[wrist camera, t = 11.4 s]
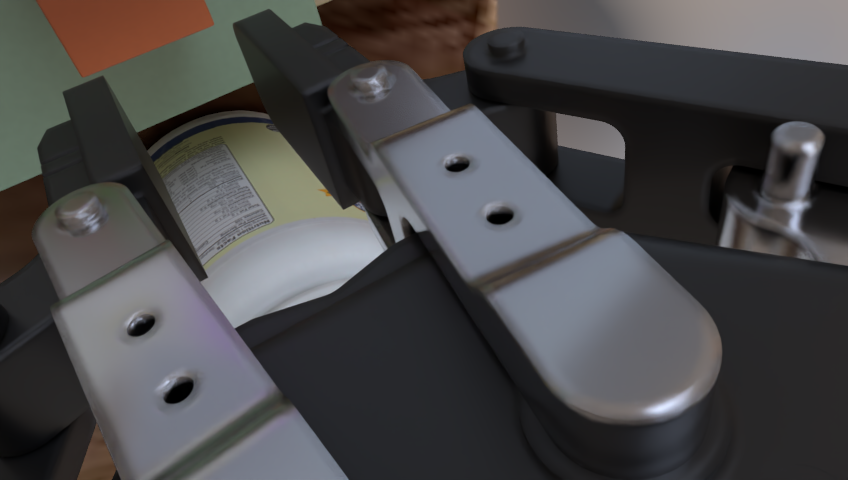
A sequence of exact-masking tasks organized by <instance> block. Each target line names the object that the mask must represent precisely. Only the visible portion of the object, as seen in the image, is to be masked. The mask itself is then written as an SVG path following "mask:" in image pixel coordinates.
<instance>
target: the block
mask: <svg viewBox="0 0 848 480" xmlns="http://www.w3.org/2000/svg"><path fill="white" fill-rule="evenodd" d="M36 2H37V4H38V5H39V7H40V9H41V10H42V12H43V14H44V15H45V17H46V19H47V20H48V22H49V24H50V25H51V27H52V29H53V30H54V32H55V34H56V35H57V37H58V39H59V40H60V42H61V44H62V45H63V47H64V49H65V50H66V52H67V54H68V55H69V57H70V59H71V60H72V62H73V64H74V65H75V67H76V69H77V70H78V72H79V74H80V75H81V77H87V76H89V75H92V74H94V73H97V72H99V71H102V70H104V69H107V68H109V67H112V66H114V65H117V64H119V63H122V62H124V61H127V60H129V59H132V58H134V57H137V56H139V55H142V54H144V53H147V52H149V51H152V50H154V49H157V48H159V47H162V46H164V45H167V44H169V43H172V42H174V41H177V40H179V39H182V38H184V37H187V36H189V35H192V34H194V33H197V32H199V31H202V30H204V29H207V28H209V27H212V26H213V25H214V21H213V19H212V17H211V14H210V12H209V9H208V7H207V5H206V2H205V0H36Z"/></svg>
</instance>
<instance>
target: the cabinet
mask: <svg viewBox="0 0 848 480" xmlns="http://www.w3.org/2000/svg"><path fill="white" fill-rule="evenodd" d="M205 2H206V5H207V7H208V9H209V12H210V14H211V17H212V19H213V21H214V25H213V26H212V27H209V28H207V29H204V30H202V31H199V32H197V33H194V34H192V35H189V36H187V37H184V38H182V39H179V40H177V41H174V42H172V43H169V44H167V45H164V46H162V47H159V48H157V49H154V50H152V51H149V52H147V53H144V54H142V55H139V56H137V57H134V58H132V59H129V60H127V61H124V62H122V63H119V64H117V65H114V66H112V67H109V68H107V69H104V70H102V71H99V72H97V73H94V74H92V75H89V76H87V77H81V75H80V74H79V72H78V70H77V69H76V67H75V65H74V64H73V62H72V60H71V59H70V57H69V55H68V54H67V52H66V50H65V49H64V47H63V45H62V44H61V42H60V40H59V39H58V37H57V35H56V34H55V32H54V30H53V29H52V27H51V25H50V24H49V22H48V20H47V19H46V17H45V15H44V14H43V12H42V10H41V9H40V7H39V5H38V4H37V2H36V0H0V191H2V190H5V189H7V188H9V187H12V186H14V185H16V184H19V183H21V182H23V181H26V180H28V179H30V178H33V177H35V176H37V175H40V174H42V170H41V166H42V165H41V164H40V160H39V155H38V150H37V147H38V145H39V143H40V141H41V139H42V137H43V135H44V134H45V132H46V130H47V129H49V128H51V127H54V126H56V125H59V124H61V123H63V122H66V121H68V120H71V119H70V116H69V113H68V109H67V106H66V103H65V99H64V96H63V91H65V90H68V89H70V88H73V87H75V86H78V85H80V84H83V83H85V82H88V81H90V80H92V79H95V78H97V77H100V76H102V75H103V76H104V77H105V79H106V80H107V82H108V84H109V85H110V87H111V89H112V90H113V92H114V94H115V96H116V97H117V99H118V101H119V103H120V104H121V106H122V108H123V110H124V111H125V113H126V115H127V117H128V118H129V120H130V122H131V124H132V125H133V127H134V129H135V131H136V132H139V131H142V130H144V129H146V128H149V127H151V126H153V125H155V124H158V123H160V122H162V121H165V120H167V119H169V118H172V117H174V116H176V115H179V114H181V113H183V112H186V111H188V110H190V109H193V108H195V107H197V106H200V105H202V104H204V103H206V102H209V101H211V100H213V99H216V98H218V97H220V96H223V95H225V94H227V93H230V92H232V91H234V90H237V89H239V88H241V87H244V86H246V85H248V84H251V83H253V82H254V81H253V79H252V76H251V74H250V71H249V69H248V66H247V64H246V61H245V59H244V56H243V54H242V51H241V49H240V46H239V44H238V41H237V39H236V36H235V33H234V30H233V23H234V22H237V21H239V20H242V19H244V18H247V17H249V16H252V15H254V14H257V13H259V12H262V11H264V10H267V9H270V10H272V11H273V12H274V13H275V14H276V15H277V16H279V17H280V18H281V19H282V20H283V21H284V22H285V23H287V24H288V25H289V26H290V27H291V28H293V27H295V26H298V25H300V24H303V23H305V22H306V23H311V24H316V25H320V26H322V23H321V20H320V17H319V14H318V10H317V7H316V4H315V0H205Z"/></svg>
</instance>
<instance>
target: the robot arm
mask: <svg viewBox="0 0 848 480" xmlns="http://www.w3.org/2000/svg"><path fill="white" fill-rule="evenodd" d="M233 30H234V33H235V36H236V39H237V41H238V44H239V46H240V49H241V51H242V54H243V56H244V59H245V61H246V64H247V66H248V69H249V71H250V74H251V76H252V79H253V81H254V83H255V86H256V88H257V91H258V93H259V96H260V98H261V101H262V103H263V105H264V107H265V109H266V111H267V113H268V115H269V117H270V119H271V121H272V122H273V124H274V125H275V127H276V128H277V130H278V131H279V132H280V133H281V134H282V136H283V137H284V138H285V139H286V141H287V142H288V143H289V144H290V145H291V147H292V148H293V149H294V150H295V152H296V153H297V154H298V155H299V156H300V158H301V159H302V160H303V161H304V163H305V164H306V165H307V166H308V167H309V169H310V170H311V171H312V172H313V173H314V175H315V176H316V177H317V178H318V180H319V181H320V182H321V183H322V184H323V186H324V187H325V188H326V189H327V191H328V192H329V193H330V194H331V195H332V197H333V198H334V199H335V200H336V202H337V203H338V204H339V205H340V206H341V208H342V209H343V210H344V209H346V208H348V207H350V206H352V205H354V204H356V203H358V202H361V203H362V204H363V206H364V209H365V212H366V215H367V218H368V221H369V224H370V227H371V229H372V231H373V233H374V235H375V236H376V238H377V240H378V242H379V243H380V245H381V247H382V249H383V250H384V252H383V253H382V254H380V255H379V256H378V257H377V258H375V259H374V260H373V261H372V262H371V263H369V264H368V265H367V266H366V267H364V268H363V269H362V270H361V271H359V272H358V273H357V274H356V275H354V276H353V277H352V278H351V279H350V280H348V281H347V282H346V283H345V284H343V285H342V286H341V287H340V288H338V289H337V290H335V291H334V292H332V293H330V294H328V295H325V296H322V297H319V298H316V299H313V300H310V301H306V302H303V303H300V304H297V305H294V306H291V307H288V308H285V309H282V310H279V311H275V312H272V313H269V314H266V315H263V316H260V317H257V318H254V319H251V320H249V321H248V322H246V323H244V324H242V325H240V326H238V327H236V328H234V327H233V326H232V325H231V323H230V322H229V320H228V319H227V318H226V316H225V315H224V314H223V312H222V311H221V310H220V308H219V307H218V305H217V304H216V303H215V301H214V300H213V299H212V297H211V296H210V295H209V293H208V292H207V290H206V289H205V288H204V286H203V285H202V284H201V281H203V280H205V279H207V278H208V276H207V274H206V271H205V269H204V267H203V265H202V263H201V261H200V259H199V257H198V254H197V252H196V250H195V248H194V246H193V244H192V242H191V239H190V237H189V235H188V233H187V231H186V229H185V227H184V225H183V222H182V220H181V218H180V216H179V214H178V212H177V210H176V207H175V205H174V203H173V201H172V199H171V197H170V195H169V192H168V190H167V188H166V186H165V184H164V182H163V180H162V178H161V176H160V174H159V172H158V170H157V168H156V166H155V164H154V162H153V161H152V159H151V157H150V155H149V153H148V152H147V150H146V148H145V146H144V145H143V143H142V141H141V139H140V138H139V136H138V134H137V132H136V131H135V129H134V127H133V125H132V124H131V122H130V120H129V118H128V117H127V115H126V113H125V111H124V110H123V108H122V106H121V104H120V103H119V101H118V99H117V97H116V96H115V94H114V92H113V90H112V89H111V87H110V85H109V84H108V82H107V80H106V79H105V77H104V76H103V75H102V76H100V77H97V78H95V79H92V80H90V81H88V82H85V83H83V84H80V85H78V86H75V87H73V88H70V89H68V90H65V91H63V96H64V99H65V103H66V106H67V109H68V113H69V116H70V119H71V120H68V121H66V122H63V123H61V124H59V125H56V126H54V127H51V128H49V129H47V130H46V132H45V134H44V135H43V137H42V139H41V141H40V143H39V145H38V147H37V150H38V155H39V160H40V164H41V165H42V166H41V170H42V175H43V177H44V178H43V180H44V185H45V190H46V195H47V200H48V205H49V207H48V208H47V209H46V210H45V211H44V212H43V213H42V214H41V216H40V217H39V218H38V219H37V221H36V223H35V224H34V227H33V230H32V238H33V241H34V243H35V246H36V248H37V250H38V252H39V254H38V255H37V256H36V257H35V258H34V259H33V260H32V261H31V262H29V263H28V264H27V265H26V266H25V267H23V268H22V269H21V270H19V271H18V272H17V273H15V274H14V275H12V276H11V277H9V278H8V279H6V280H5V281H4V282H2V283H1V284H0V480H77V478H78V475H79V472H80V469H81V466H82V463H83V460H84V457H85V455H86V452H87V449H88V446H89V443H90V440H91V437H92V434H93V431H94V429H95V425H96V421H97V424H98V426H99V429H100V431H101V433H102V436H103V438H104V441H105V443H106V445H107V448H108V450H109V453H110V455H111V457H112V460H113V462H114V464H115V467H116V469H117V470H116V472H115V474H114V476H113V479H112V480H848V65H841V64H833V63H824V62H815V61H807V60H799V59H791V58H782V57H774V56H765V55H757V54H748V53H740V52H731V51H723V50H714V49H706V48H697V47H689V46H680V45H672V44H664V43H655V42H647V41H646V42H645V41H638V40H630V39H621V38H613V37H604V36H596V35H587V34H579V33H570V32H562V31H554V30H545V29H536V28H528V27H510V28H502V29H497V30H493V31H490V32H487V33H485V34H483V35H480V36H478V37H477V38H475V39H473V40H472V41H471V42H470V43H469V44H468V45H467V46H466V47H465V49H464V52H463V58H464V64H465V70H464V71H460V72H456V73H452V74H448V75H444V76H440V77H436V78H431V79H424V80H422V79H421V78H420V77H419V76H418V75H417V74H416V73H415V72H414V71H413V70H412V68H410V67H409V66H408V65H406V64H404V63H402V62H398V61H391V60H382V61H373V62H370V61H369V60H368V59H366V58H365V57H364V56H363V55H361V54H360V53H359V52H357V51H356V50H355V49H354V48H352V47H351V46H348V44H347V43H346V42H345V41H344V40H342V39H341V38H338V36H337V35H336V34H335V33H333V32H332V31H331V30H330V29H328V28H327V27H325V26H320V25H316V24H311V23H306V22H305V23H303V24H300V25H298V26H295V27H293V28H291V27H290V26H289V25H288V24H287V23H285V22H284V21H283V20H282V19H281V18H280V17H279V16H277V15H276V14H275V13H274V12H273V11H272V10H270V9H267V10H264V11H262V12H259V13H257V14H254V15H252V16H249V17H247V18H244V19H242V20H239V21H237V22H234V23H233ZM556 113H560V114H565V115H571V116H577V117H581V118H587V119H592V120H598V121H602V122H606V123H608V124H610V125H612V126H614V127H615V128H616V129H617V130H618V131H619V132H620V133H621V135H622V136H623V139H624V141H625V160H624V159H619V158H615V157H610V156H604V155H600V154H596V153H591V152H586V151H581V150H577V149H572V148H567V147H563V146H558V142H557V124H556Z"/></svg>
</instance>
